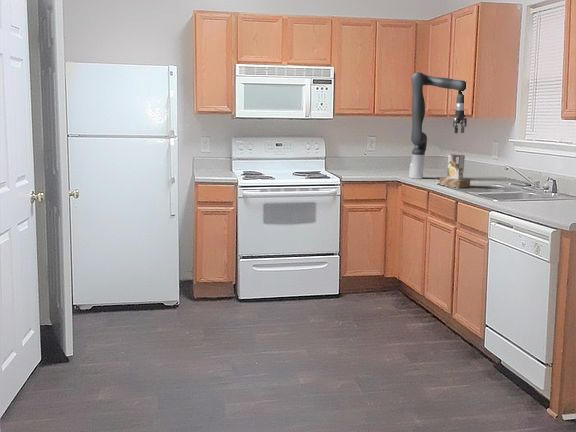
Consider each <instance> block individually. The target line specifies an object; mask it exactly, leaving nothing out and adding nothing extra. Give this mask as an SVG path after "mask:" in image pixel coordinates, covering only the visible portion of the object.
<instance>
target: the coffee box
mask: <svg viewBox="0 0 576 432" xmlns="http://www.w3.org/2000/svg"><path fill="white" fill-rule="evenodd" d="M465 157H466V156H465V155H464V154H456V153H451V154H448V159H447V174H446V177H447V178H450V179H463V178H464V171H465V170H464V169H465Z"/></svg>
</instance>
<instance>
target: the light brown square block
mask: <svg viewBox="0 0 576 432" xmlns="http://www.w3.org/2000/svg"><path fill="white" fill-rule="evenodd" d="M439 184H441V185H448V186H453V187H452V188H454V187H456V188H457V189H462V188H468V187H471V178H464V177H463V179H450V178H447V176H446V177H440V178H439V183H438V185H439ZM456 188H455V189H456Z"/></svg>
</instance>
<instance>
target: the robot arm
mask: <svg viewBox="0 0 576 432" xmlns="http://www.w3.org/2000/svg"><path fill="white" fill-rule="evenodd" d="M465 81H466V80H461V79H455V78H454V79H453V78H449V77H437V76H431V75H428V74H426V73H425V74H424V73H423V72H420V71H417V72H414V73H413V74H412V76H411V80H410V82H411V90H412V91H411V92H412V97H411V124H412V125H411V126H412V127H411V136H410V140H411V142H412V145H413V149H412V150H411V159H410V160H411V161H410V164H409V173H408V178H410V179H417V180H418V179H421V180H422V179H424V169H425V154H426V150H427V146H428V145H427V144H428V137H427V133H425V132H423V122H424V118H425V114H426V102H425V101H426V100H425V97H424V92H423V90H424V89H423V88H424V86H432V87H437V88H441V89H448V90H455V91H457V95H456V104H455V111H454V113H455V114H454V118H453V120H452V127H453V128H454V131H453V132H454V134H458V132H459V127H460V133H461V134H464V133H465V128H467V126H468V125H467V121H468V118H467V115H466V116H465V115H464V95H463V94H462V92H461V91H464V90H465V89H466V82H467V81H466V82H465Z"/></svg>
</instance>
